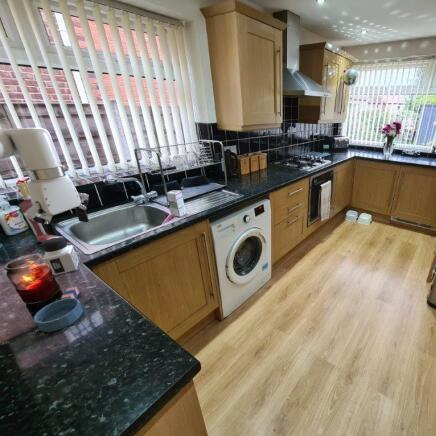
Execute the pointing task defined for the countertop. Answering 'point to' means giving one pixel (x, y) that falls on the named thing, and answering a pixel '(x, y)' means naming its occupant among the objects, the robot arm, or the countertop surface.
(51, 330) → the bowl
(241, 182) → the countertop surface
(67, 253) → the container
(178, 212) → the syrup box
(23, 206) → the liquor
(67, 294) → the eraser
